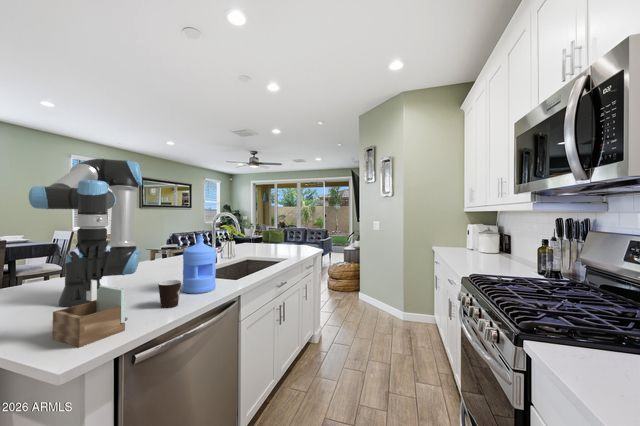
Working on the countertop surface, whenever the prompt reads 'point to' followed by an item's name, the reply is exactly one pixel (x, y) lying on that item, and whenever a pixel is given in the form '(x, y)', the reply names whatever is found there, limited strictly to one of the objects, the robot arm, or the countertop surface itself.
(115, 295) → the cabinet door
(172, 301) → the coffee mug
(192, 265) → the water jug
